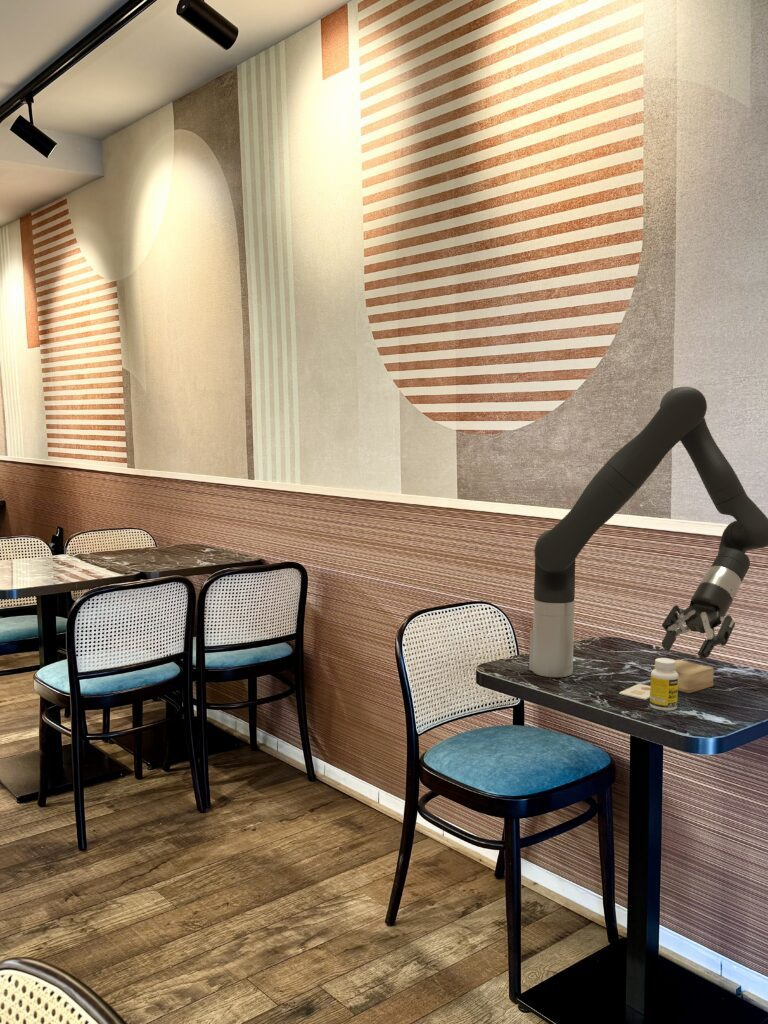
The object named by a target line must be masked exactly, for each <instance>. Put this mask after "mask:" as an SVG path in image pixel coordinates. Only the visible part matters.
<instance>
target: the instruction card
mask: <svg viewBox="0 0 768 1024" xmlns="http://www.w3.org/2000/svg"><path fill="white" fill-rule="evenodd" d="M619 695H624V696H627V697H632V698H636V699H641V700H645V701H646V700H648V699H650V685H647V684H643V683H636V684H635V685H633V686H631V687H627V688H626V689H623V690H622V691H619Z"/></svg>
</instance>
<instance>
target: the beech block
mask: <svg viewBox="0 0 768 1024" xmlns="http://www.w3.org/2000/svg"><path fill="white" fill-rule="evenodd" d="M674 660H675V661H676V667H675V669H674V670H675V671H676V672H677V673H678V692H682V693H687V694H691V693H694V692H697V691H702V690H705V689H708V688H711V687H713V686H715V682H714V671H715V670H714V667H711V666H708V665H703V664H699V663H695V662H690V661H687V660H682V659H674ZM654 669H656V667H655V665H654V666H653V670H654Z"/></svg>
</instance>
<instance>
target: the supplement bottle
mask: <svg viewBox="0 0 768 1024" xmlns="http://www.w3.org/2000/svg"><path fill="white" fill-rule="evenodd" d="M675 660H676V659H672V658H666V657H658V658H655V660H654V666H655V667H656V669H654V668H653V670H652V671H651V673H650V685H649V686H650V698H649V706H650V707H651V708H653V709H654V710H659V711H665V712H667V711H668V712H669V711H674V710H677V708H678V697H679V696H678V694H679V690H678V673H677V672H676V671H675V670H674V669H675V667H676V661H675Z"/></svg>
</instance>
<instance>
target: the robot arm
mask: <svg viewBox="0 0 768 1024" xmlns="http://www.w3.org/2000/svg"><path fill="white" fill-rule="evenodd" d="M659 404H660V405H659V409H658V410H657V411H656V413H655V414H654V415H653V417H652V418H651V419H650V420H649V422H648V423H647V425H646V426H645V427H644V428H643V429H642V430H641V431H640V432H639V433H638V434H637V435H636V436H634V437H633V438H632V439H631V440H629V441H628V442H627V443H626V444H625V445H623V446H622V447H621V448H620V449H619V450H617V452H615V453H614V454H613V455H612V456H611V457H610V458H609V459H608V460H607V461H606V463H604V465H603V466H601V468H599V470H598V472H597V473H595V475H594V476H593V477H592V479H591V480H590V481H589V483H588V484H587V485H586V487H585V488H584V490H583V491H582V493H581V494H580V496H579V498H578V499H577V500H576V502H575V504H574V505H573V507H572V508H571V509H570V511H569V512H568V513H567V514H566V515H565V516H564V517H563V518H562V519H561V520H560V521H559V522H557V524H556V525H555V526H553V528H551V529H548V530H546V531H544V532H543V533H541V534H540V535H539V536H538V538H537V539H536V542H535V544H534V545H535V546H534V551H533V552H534V583H533V620H532V623H533V627H532V629H530V631H529V663H528V665H529V667H528V669H529V671H532V673H534V674H535V675H538V676H541V677H546V678H564V677H568V676H572V674H574V672H573V671H574V669H573V668H574V638H575V637H574V635H575V634H574V632H575V593H576V558H577V557H578V555H580V553H581V551H582V550H583V549H584V548H585V546H586V545H587V543H588V542H589V540H590V539H591V538H592V537H593V536H594V534H596V533H597V531H598V530H600V528H602V527H603V526H604V525H605V524H606V523H607V522H608V521H609V520H611V518H613V516H614V515H616V514H617V513H618V512H619V511H620V510H621V509H622V507H624V506H625V505H626V504H627V502H629V500H631V498H632V497H633V496H634V495H635V494H636V493H637V492H638V490H640V488H641V487H642V486H643V485H644V484H645V482H646V481H647V480H648V479H649V478H650V476H651V475H652V474H653V473H654V471H655V470H656V468H657V467H658V466H659V465H660V463H661V462H662V460H663V459H664V458H665V457H666V455H667V454H668V453H669V452H670V451H671V450H672V449H673V448H674V447H675V446H676V445H677V444H678V443H679V442H680V443H681V444H682V445H683V447H684V449H685V450H686V452H687V454H688V456H689V457H690V459H691V461H692V464H693V465H694V467H695V470H696V471H697V474H698V475H699V477H700V481H701V482H702V484H703V485H704V487H705V490H706V492H707V493H708V496H709V498H710V499H711V502H712V503H713V505H714V507H715V509H716V510H717V512H718V513H719V514H721V515H724V516H731V518H734V519H735V520H734V521H731V522H730V523H729V524H728V525H727V526H726V527H725V528H724V530H723V532H722V534H721V538H720V542H719V547H718V550H717V551H718V553H717V555H716V557H715V559H714V560H713V562H712V564H711V566H710V568H709V569H708V570H707V572H706V573H705V574H704V575H703V578H702V579H701V581H700V583H699V585H698V586H697V588H696V590H695V592H694V593H693V595H692V596H691V599H690V603H689V606H687V608H685V609H683V608H680V606H679V605H677V604H676V605H673V607H672V608H671V609H670V611H669V613H668V614H667V616H666V618H665V619H664V621H663V622H662V624H661V626H662V628H663V630H664V631H665V633H666V634H665V635H664V637H663V639H662V642H661V645H662V648H663V649H664V651H666V652H670V650H671V649H672V647H673V645H674V643H675V641H676V639H677V637H679V636H681V635H682V634H687V633H689V632H697V633H699V634H706V638H707V639H706V638H705V639H704V641H703V643H702V644H701V646H700V648H699V650H698V652H697V656H698V657H699V658H700V660H704V661H705V660H706V659H708V657H710V655H711V653H712V651H713V650H714V648H715V647H716V646H717V645H721V646H726V645H727V644H728V641H729V640H730V637H731V636H732V632H733V631H734V628H735V626H736V622H735V621H734V619H733V617H732V616H731V615H730V614H727V613H728V611H729V610H730V607H731V606H732V604H733V601H734V600H735V598H736V596H737V594H738V592H739V590H740V587H741V584H742V582H743V581H744V578H745V577H746V575H747V573H748V571H749V570H750V567H751V561H750V558H749V556H748V555H747V554H746V552H749V551H752V550H753V551H754V550H759V549H762V548H763V549H764V548H766V547H768V517H767V516H766V514H765V513H764V512H763V511H762V510H761V509H760V507H758V506H757V504H756V503H755V502H754V501H753V500H752V499H751V498H750V497H749V496H748V494H747V493H746V489H744V486H743V485H742V483H741V481H740V479H739V477H738V475H737V473H736V472H735V470H734V468H733V467H732V465H731V464H730V463H729V461H728V459H727V458H726V456H725V454H723V452H722V451H721V449H720V447H718V444H717V443H716V441H715V439H714V438H713V436H712V433H711V432H710V430H709V427H708V425H707V422H706V419H705V416H706V413H707V411H708V404H707V399H706V397H705V395H704V394H703V393H702V392H701V391H700V390H699V389H697V388H695V387H691V386H680V387H679V386H677V387H674V388H672V389H670V390H669V391H667V392H665V394H664V395H663V397H662V399H661V400H660V403H659ZM684 623H685V626H684ZM720 625H721V626H720ZM718 626H720V628H719V630H718V632H717V634H716V630H715V628H717V627H718Z"/></svg>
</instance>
